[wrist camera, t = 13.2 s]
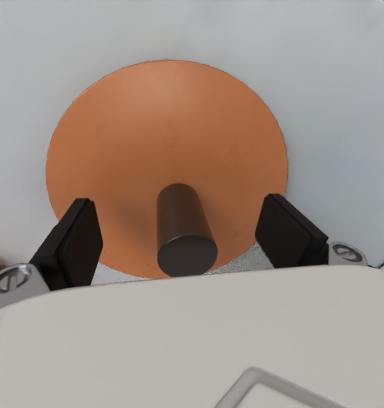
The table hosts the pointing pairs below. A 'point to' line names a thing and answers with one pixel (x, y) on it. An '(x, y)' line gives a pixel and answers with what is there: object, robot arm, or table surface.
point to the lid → (168, 166)
